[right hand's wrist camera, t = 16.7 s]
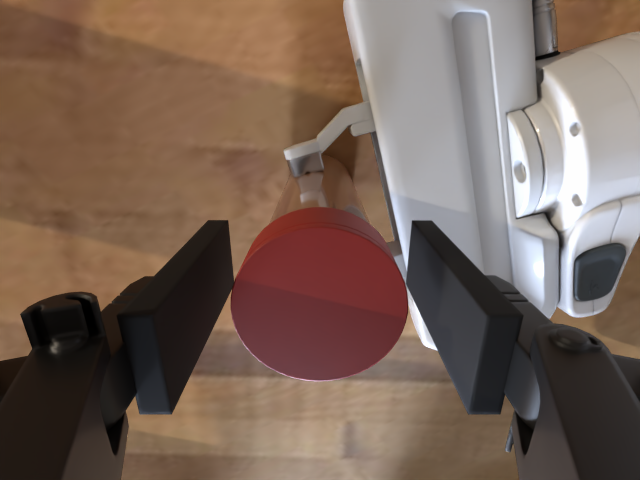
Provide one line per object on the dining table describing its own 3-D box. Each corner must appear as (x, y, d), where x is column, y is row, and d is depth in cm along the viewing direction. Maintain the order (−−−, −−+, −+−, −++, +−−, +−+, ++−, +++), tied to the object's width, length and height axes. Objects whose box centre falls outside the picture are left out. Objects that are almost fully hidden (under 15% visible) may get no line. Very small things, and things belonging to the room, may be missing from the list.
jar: (361, 167, 25) (419, 257, 10) (337, 225, 26) (360, 375, 12) (300, 145, 24) (269, 205, 10) (280, 205, 26) (227, 336, 11)
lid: (307, 173, 11) (304, 187, 9) (425, 268, 12) (446, 299, 10) (215, 288, 12) (196, 322, 10) (329, 364, 13) (331, 407, 11)
